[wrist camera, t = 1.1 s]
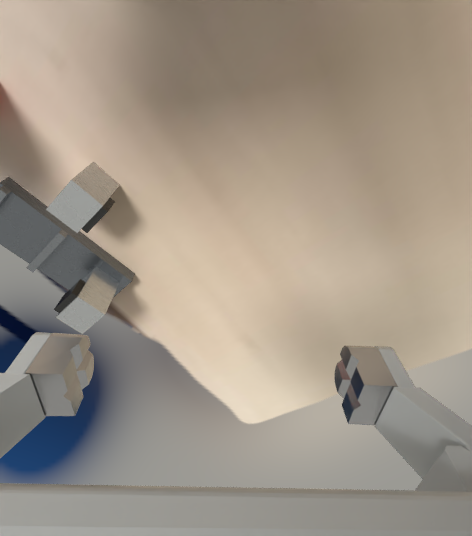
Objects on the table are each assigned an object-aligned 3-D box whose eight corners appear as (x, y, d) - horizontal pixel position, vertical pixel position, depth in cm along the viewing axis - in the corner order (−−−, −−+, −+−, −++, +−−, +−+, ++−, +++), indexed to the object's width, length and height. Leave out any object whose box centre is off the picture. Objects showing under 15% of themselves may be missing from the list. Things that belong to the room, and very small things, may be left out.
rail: (-22, 216, 45) (-72, 250, 37) (8, 177, 42) (-40, 205, 34) (103, 302, 53) (82, 343, 46) (134, 273, 50) (118, 312, 43)
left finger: (70, 187, 43) (46, 209, 37) (93, 161, 41) (71, 179, 35) (101, 213, 45) (83, 237, 39) (124, 189, 43) (108, 210, 37)
